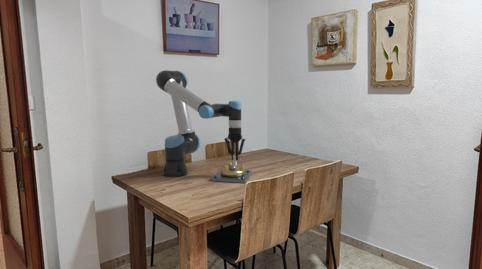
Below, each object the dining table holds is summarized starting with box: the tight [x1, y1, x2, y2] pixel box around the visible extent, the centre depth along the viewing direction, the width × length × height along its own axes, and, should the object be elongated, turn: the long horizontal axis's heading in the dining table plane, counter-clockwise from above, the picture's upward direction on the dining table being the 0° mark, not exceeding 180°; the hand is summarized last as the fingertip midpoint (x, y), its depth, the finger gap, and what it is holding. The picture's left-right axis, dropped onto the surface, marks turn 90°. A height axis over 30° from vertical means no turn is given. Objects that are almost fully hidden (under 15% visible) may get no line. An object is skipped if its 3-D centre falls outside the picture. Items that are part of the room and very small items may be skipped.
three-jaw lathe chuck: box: [220, 160, 245, 177], centre depth 202 cm, size 14×14×6 cm
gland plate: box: [210, 169, 253, 184], centre depth 203 cm, size 20×20×3 cm
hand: (235, 165), depth 207 cm, fingers closed
